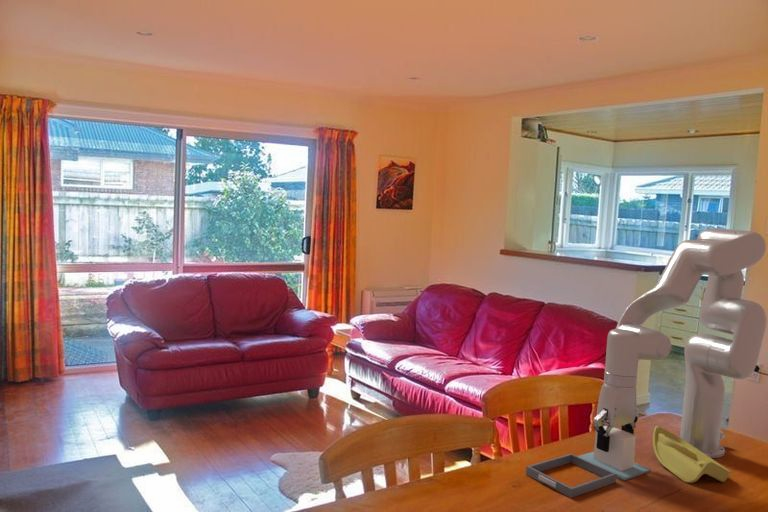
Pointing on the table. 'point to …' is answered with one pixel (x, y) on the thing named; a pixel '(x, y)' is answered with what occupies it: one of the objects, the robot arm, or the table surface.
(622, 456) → the block
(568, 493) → the grey rectangular frame
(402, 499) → the table surface
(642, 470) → the mat
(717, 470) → the plastic component
